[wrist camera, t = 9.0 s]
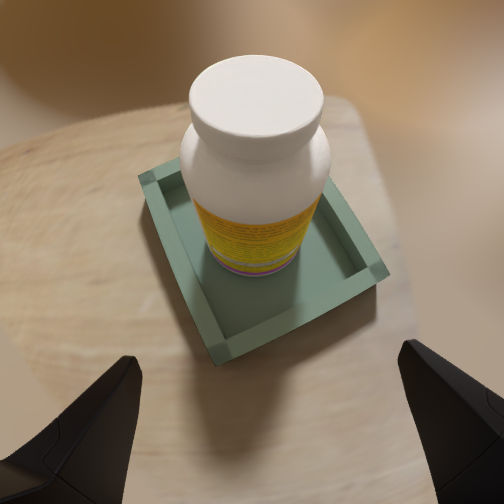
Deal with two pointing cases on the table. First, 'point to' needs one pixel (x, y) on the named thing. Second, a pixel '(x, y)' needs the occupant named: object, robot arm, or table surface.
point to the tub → (265, 287)
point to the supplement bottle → (255, 160)
